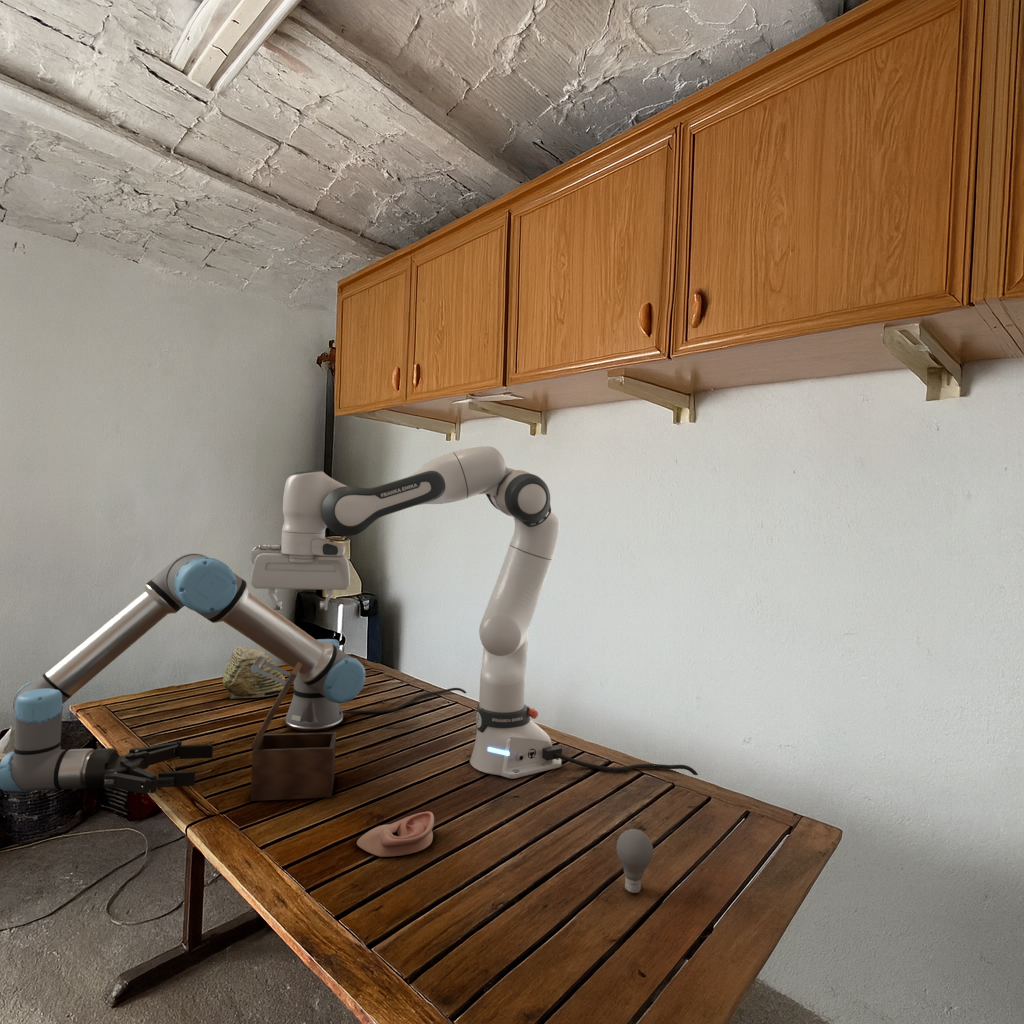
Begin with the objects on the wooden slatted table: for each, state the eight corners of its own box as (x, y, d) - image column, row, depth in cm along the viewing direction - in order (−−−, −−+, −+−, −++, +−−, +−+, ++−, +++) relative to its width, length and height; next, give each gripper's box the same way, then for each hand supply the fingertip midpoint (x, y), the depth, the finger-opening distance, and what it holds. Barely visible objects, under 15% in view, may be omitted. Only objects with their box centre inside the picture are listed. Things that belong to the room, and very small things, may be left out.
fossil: (218, 695, 195) (220, 647, 195) (278, 685, 208) (279, 640, 207) (228, 703, 189) (230, 653, 188) (289, 692, 201) (290, 645, 201)
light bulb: (610, 879, 108) (613, 822, 108) (644, 879, 109) (647, 822, 109) (619, 902, 102) (622, 840, 102) (655, 901, 103) (658, 840, 103)
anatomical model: (349, 829, 113) (376, 800, 125) (348, 851, 113) (375, 820, 125) (420, 841, 111) (440, 810, 122) (419, 863, 111) (439, 830, 122)
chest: (334, 777, 143) (336, 732, 143) (331, 797, 134) (333, 748, 134) (259, 781, 140) (260, 734, 139) (250, 801, 130) (252, 751, 130)
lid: (302, 663, 141) (265, 645, 139) (296, 675, 132) (256, 656, 130) (263, 732, 140) (225, 715, 138) (254, 749, 130) (213, 730, 129)
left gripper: (116, 761, 141) (218, 757, 145) (60, 817, 116) (184, 810, 121) (117, 727, 141) (219, 725, 145) (61, 776, 116) (186, 771, 121)
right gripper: (248, 545, 130) (246, 612, 131) (350, 548, 135) (348, 612, 135) (254, 542, 137) (252, 606, 137) (352, 545, 141) (349, 607, 141)
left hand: (203, 764), depth 133 cm, fingers open, 13 cm apart
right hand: (300, 609), depth 136 cm, fingers open, 8 cm apart
